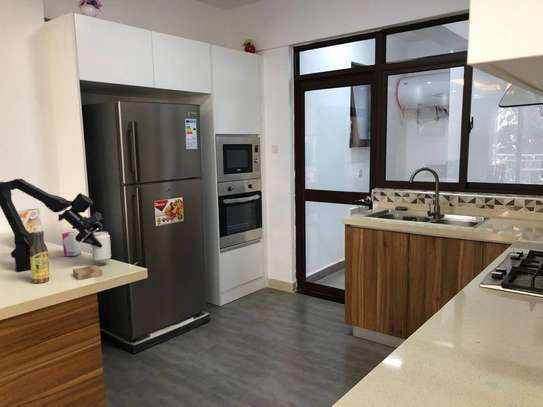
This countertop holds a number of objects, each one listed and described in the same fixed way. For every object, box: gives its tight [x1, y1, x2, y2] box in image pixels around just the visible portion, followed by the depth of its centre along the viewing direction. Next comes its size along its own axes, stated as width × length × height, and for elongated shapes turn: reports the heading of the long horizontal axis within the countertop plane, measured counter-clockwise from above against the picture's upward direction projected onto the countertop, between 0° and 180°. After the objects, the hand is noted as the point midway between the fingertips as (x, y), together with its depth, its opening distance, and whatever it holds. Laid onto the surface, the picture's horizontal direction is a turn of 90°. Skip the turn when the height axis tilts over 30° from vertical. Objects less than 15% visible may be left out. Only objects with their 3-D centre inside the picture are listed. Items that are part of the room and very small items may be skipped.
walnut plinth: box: [72, 264, 103, 281], centre depth 171 cm, size 9×9×2 cm
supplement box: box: [61, 231, 82, 258], centre depth 205 cm, size 6×6×12 cm
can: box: [91, 231, 112, 262], centre depth 184 cm, size 8×8×12 cm
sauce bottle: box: [30, 230, 50, 284], centre depth 163 cm, size 7×6×20 cm
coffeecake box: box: [17, 208, 43, 233], centre depth 230 cm, size 15×7×20 cm, turn 179°
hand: (104, 244), depth 184 cm, fingers closed on can, 7 cm apart
